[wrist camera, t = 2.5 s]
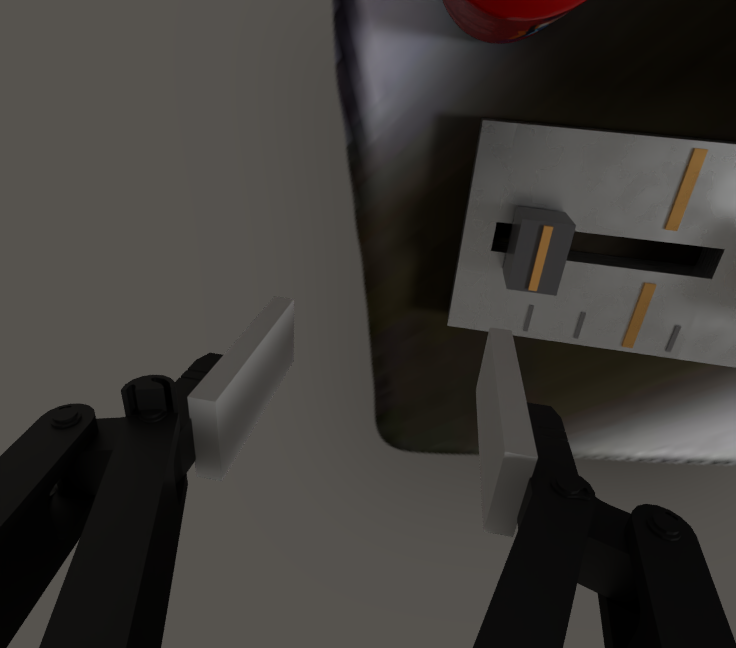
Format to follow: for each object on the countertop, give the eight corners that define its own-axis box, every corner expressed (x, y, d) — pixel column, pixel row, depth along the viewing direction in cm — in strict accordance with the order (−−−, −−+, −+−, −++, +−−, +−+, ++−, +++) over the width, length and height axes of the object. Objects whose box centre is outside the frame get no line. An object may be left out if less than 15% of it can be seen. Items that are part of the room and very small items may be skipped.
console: (481, 117, 31) (483, 120, 29) (967, 163, 28) (1016, 171, 26) (448, 311, 38) (447, 327, 35) (840, 367, 34) (870, 389, 32)
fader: (512, 197, 33) (523, 219, 28) (557, 202, 33) (576, 226, 27) (499, 258, 35) (507, 290, 30) (542, 264, 35) (556, 297, 29)
